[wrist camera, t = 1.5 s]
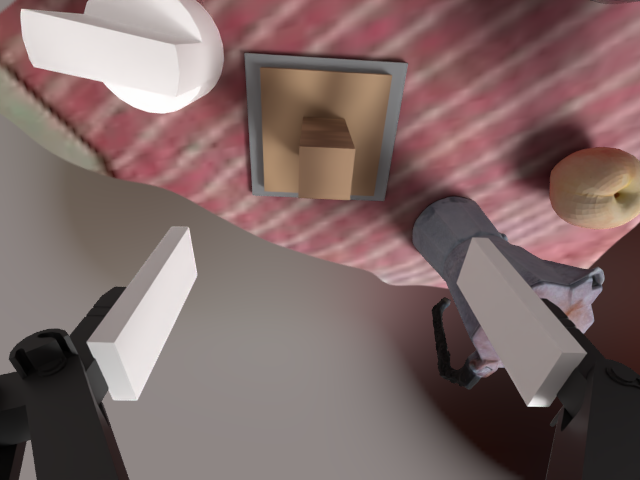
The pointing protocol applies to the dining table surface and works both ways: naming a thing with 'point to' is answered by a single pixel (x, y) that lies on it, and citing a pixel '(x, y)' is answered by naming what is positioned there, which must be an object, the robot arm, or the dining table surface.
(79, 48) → the cylinder with rectangular tab
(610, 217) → the fruit
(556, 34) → the dining table surface
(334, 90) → the walnut lid
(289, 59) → the rubber mat
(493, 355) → the moka pot
